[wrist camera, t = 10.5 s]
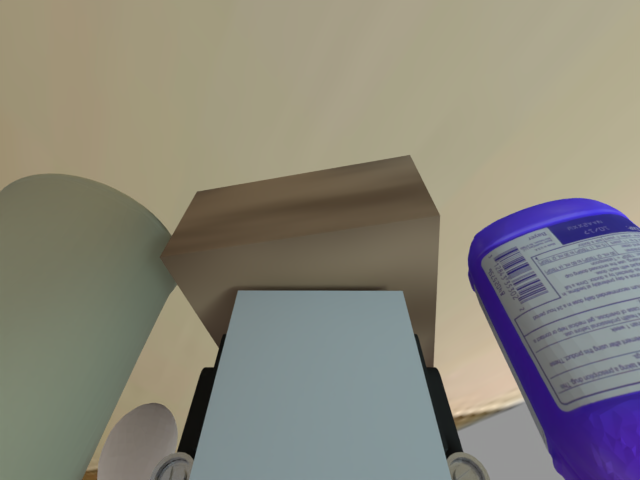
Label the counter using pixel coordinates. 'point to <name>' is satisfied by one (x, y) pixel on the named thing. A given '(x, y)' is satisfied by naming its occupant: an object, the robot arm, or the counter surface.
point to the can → (71, 316)
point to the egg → (138, 443)
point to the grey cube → (320, 392)
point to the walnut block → (312, 241)
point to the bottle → (569, 327)
